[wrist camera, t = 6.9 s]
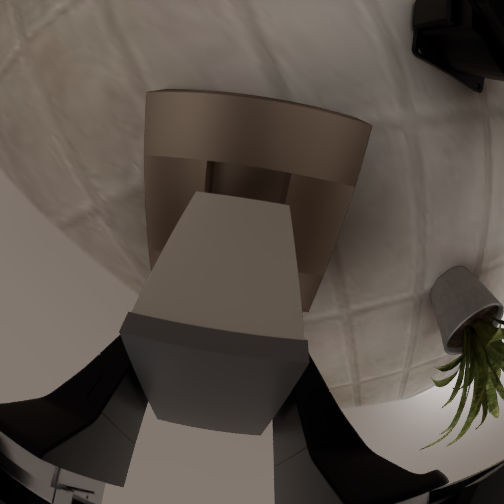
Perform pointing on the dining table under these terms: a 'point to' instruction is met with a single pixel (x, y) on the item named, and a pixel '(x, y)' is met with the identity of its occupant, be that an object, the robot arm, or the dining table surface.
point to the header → (253, 165)
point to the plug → (221, 317)
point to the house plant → (470, 341)
